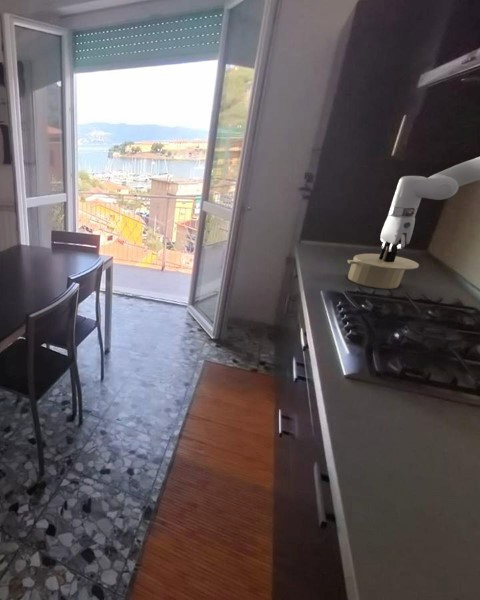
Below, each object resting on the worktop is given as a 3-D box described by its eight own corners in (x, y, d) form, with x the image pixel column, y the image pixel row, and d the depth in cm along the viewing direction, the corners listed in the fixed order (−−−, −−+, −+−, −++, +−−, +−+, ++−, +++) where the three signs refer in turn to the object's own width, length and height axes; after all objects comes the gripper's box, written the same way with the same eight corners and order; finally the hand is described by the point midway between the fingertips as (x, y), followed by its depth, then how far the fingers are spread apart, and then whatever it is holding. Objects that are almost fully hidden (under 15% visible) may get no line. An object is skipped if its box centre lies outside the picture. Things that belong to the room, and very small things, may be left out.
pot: (416, 290, 147) (425, 268, 143) (353, 286, 151) (360, 265, 147) (390, 275, 163) (397, 255, 159) (334, 272, 167) (339, 253, 163)
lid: (431, 272, 127) (438, 254, 124) (371, 270, 130) (376, 252, 127) (398, 256, 144) (403, 240, 141) (345, 255, 147) (350, 239, 144)
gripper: (429, 216, 121) (411, 267, 129) (400, 208, 136) (384, 254, 143) (404, 215, 122) (387, 266, 130) (378, 208, 137) (364, 254, 144)
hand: (386, 260), depth 136 cm, fingers closed on lid, 2 cm apart
